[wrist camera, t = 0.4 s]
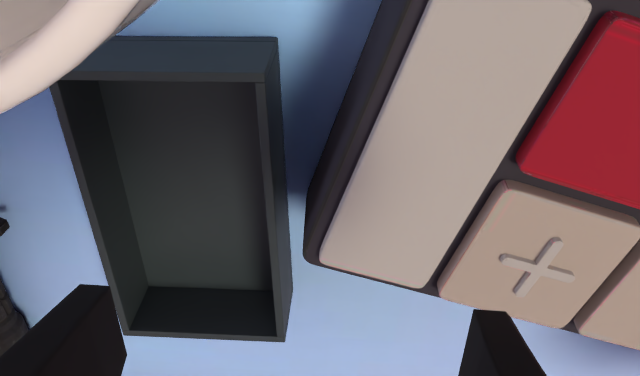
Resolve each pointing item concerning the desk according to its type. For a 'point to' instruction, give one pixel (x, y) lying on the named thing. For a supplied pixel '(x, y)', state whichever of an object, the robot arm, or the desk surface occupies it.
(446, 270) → the calculator
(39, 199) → the desk surface
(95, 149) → the tray
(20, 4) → the drinking glass
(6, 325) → the knife
